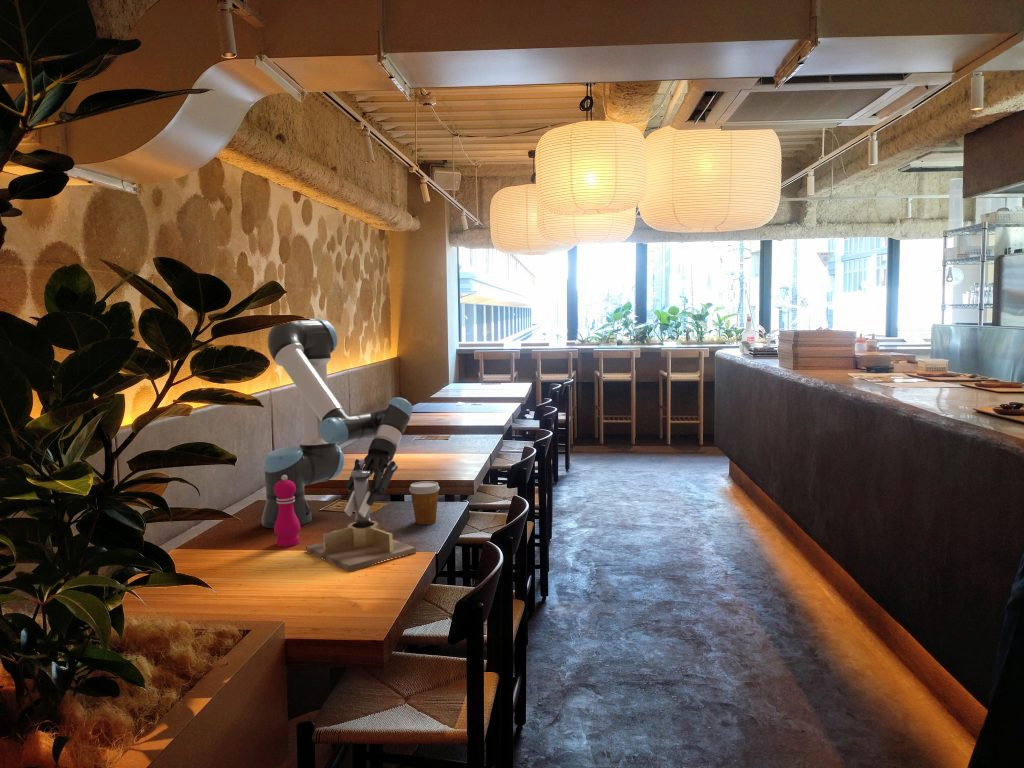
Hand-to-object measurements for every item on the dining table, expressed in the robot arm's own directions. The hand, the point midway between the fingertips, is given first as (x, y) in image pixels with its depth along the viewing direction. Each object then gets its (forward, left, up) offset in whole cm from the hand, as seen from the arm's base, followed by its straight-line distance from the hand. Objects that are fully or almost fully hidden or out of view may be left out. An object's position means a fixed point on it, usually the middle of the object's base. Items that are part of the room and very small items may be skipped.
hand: (354, 514), depth 195 cm
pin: (-2, +3, -7) cm, 8 cm away
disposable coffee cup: (-10, +31, -11) cm, 34 cm away
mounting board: (+1, 0, -10) cm, 11 cm away
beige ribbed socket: (+3, -1, -9) cm, 10 cm away
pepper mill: (-22, -10, -11) cm, 26 cm away
